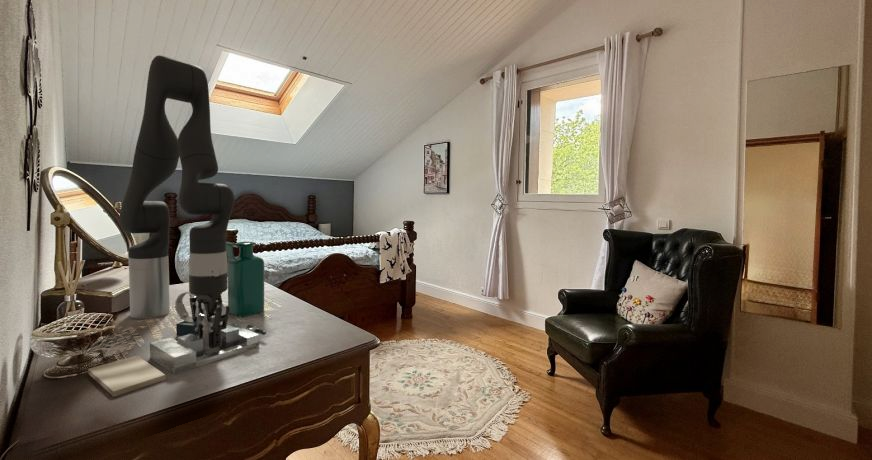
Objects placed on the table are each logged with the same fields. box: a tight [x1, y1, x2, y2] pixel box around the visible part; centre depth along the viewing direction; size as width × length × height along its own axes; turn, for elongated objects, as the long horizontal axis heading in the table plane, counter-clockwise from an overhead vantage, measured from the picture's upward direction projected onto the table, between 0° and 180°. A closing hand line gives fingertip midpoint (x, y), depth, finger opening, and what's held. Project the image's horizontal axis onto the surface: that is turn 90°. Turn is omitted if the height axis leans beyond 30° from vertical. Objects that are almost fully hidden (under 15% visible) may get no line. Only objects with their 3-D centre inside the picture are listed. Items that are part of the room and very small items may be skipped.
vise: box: [149, 323, 267, 375], centre depth 87 cm, size 12×21×4 cm, turn 147°
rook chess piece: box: [201, 316, 221, 355], centre depth 86 cm, size 4×4×8 cm
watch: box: [174, 290, 199, 337], centre depth 97 cm, size 6×8×11 cm
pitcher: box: [226, 241, 265, 318], centre depth 114 cm, size 10×8×22 cm
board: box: [87, 355, 166, 398], centre depth 74 cm, size 14×8×1 cm, turn 57°
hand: (209, 343), depth 86 cm, fingers closed on rook chess piece, 4 cm apart
